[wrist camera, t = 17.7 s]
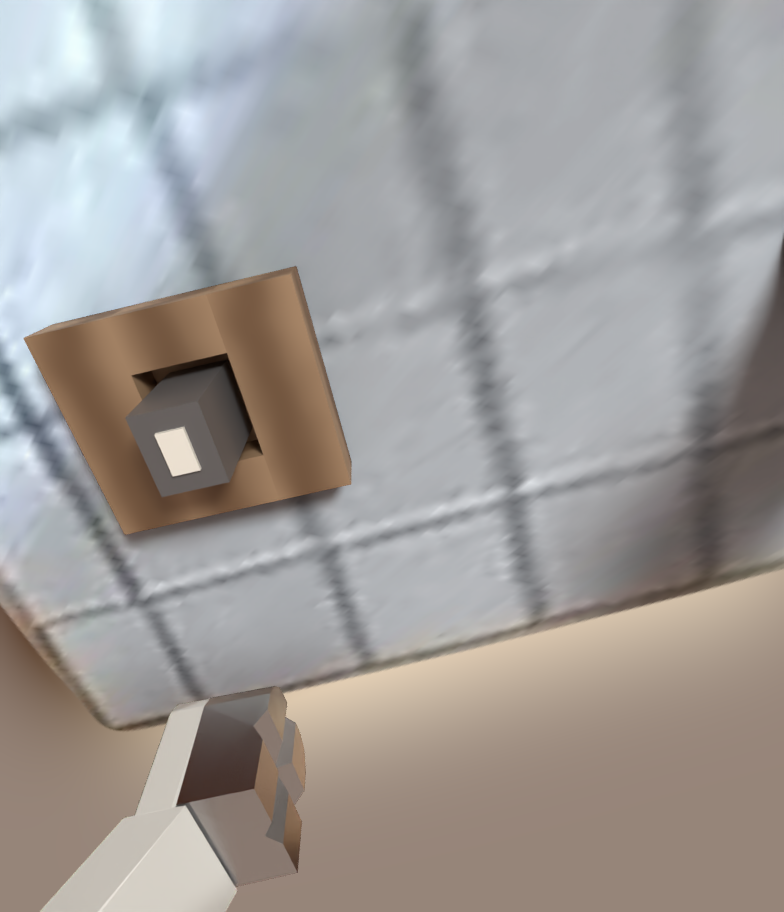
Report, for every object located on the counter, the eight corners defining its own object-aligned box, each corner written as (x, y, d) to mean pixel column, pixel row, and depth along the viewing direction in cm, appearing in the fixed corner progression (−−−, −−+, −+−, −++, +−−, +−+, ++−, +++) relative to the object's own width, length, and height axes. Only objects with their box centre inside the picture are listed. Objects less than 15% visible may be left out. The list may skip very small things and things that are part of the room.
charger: (228, 358, 37) (196, 402, 30) (252, 427, 39) (228, 484, 32) (169, 372, 37) (123, 419, 30) (196, 439, 39) (160, 499, 32)
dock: (296, 266, 35) (290, 274, 32) (351, 461, 41) (351, 484, 38) (52, 324, 36) (23, 338, 33) (142, 508, 42) (124, 534, 39)
